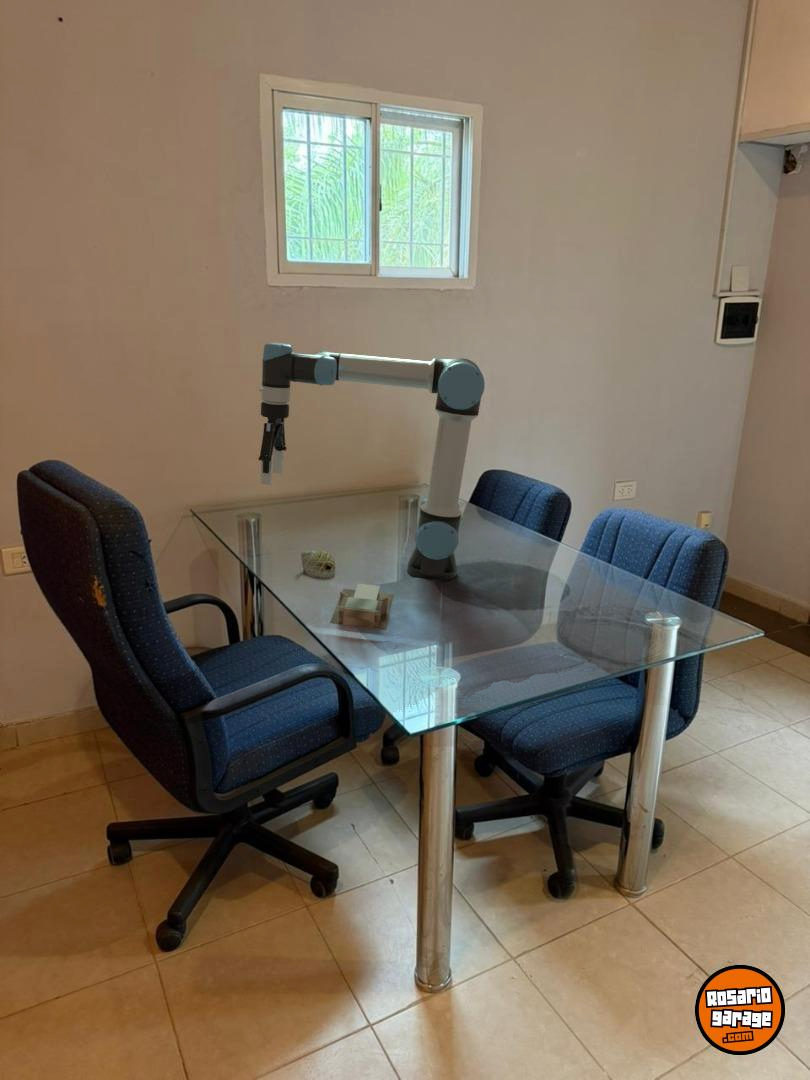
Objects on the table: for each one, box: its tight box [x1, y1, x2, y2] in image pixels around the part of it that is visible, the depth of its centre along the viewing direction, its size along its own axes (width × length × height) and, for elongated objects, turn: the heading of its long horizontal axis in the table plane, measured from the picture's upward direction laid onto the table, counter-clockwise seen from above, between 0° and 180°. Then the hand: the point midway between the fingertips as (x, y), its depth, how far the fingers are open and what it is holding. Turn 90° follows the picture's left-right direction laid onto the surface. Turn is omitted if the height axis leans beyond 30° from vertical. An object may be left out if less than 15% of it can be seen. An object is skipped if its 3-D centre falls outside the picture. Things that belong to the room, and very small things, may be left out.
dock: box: [329, 588, 394, 631], centre depth 194 cm, size 14×23×6 cm, turn 177°
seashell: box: [300, 550, 336, 579], centre depth 216 cm, size 10×10×10 cm
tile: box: [354, 583, 381, 600], centre depth 200 cm, size 6×11×2 cm, turn 177°
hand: (271, 478), depth 209 cm, fingers open, 13 cm apart
